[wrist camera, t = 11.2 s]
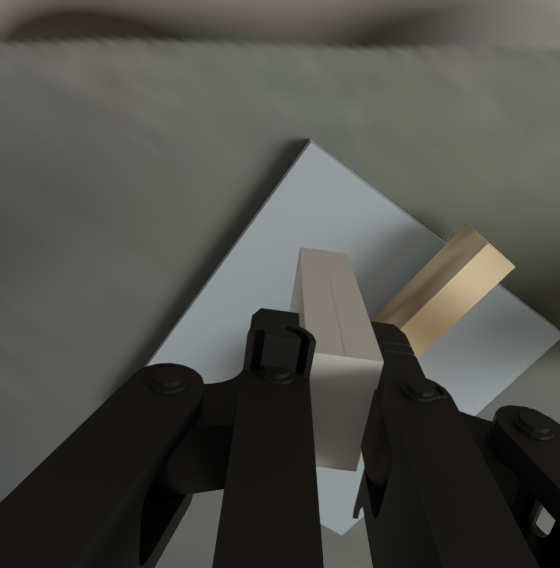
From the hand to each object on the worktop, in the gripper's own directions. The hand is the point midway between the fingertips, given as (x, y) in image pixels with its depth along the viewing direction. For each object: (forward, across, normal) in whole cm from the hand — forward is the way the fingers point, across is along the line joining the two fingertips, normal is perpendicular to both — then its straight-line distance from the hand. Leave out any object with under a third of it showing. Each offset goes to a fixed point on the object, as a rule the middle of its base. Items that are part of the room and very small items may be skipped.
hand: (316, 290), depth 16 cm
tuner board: (+12, +3, -10) cm, 16 cm away
